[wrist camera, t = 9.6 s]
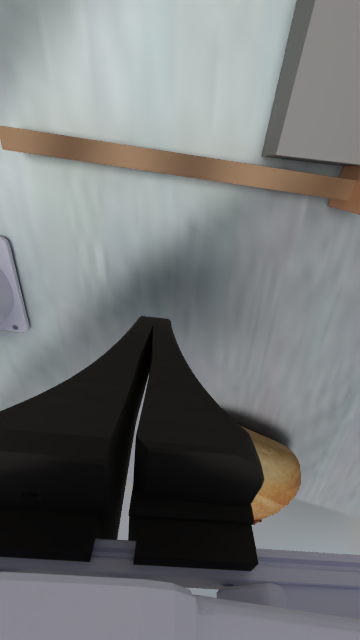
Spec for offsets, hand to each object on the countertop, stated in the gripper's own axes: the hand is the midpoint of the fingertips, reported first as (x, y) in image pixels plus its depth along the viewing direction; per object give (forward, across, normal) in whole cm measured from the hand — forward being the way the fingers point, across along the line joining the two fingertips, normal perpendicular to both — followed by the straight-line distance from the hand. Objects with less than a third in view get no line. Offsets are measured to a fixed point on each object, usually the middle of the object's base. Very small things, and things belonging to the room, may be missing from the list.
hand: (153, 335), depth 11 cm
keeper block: (+9, -7, -11) cm, 16 cm away
